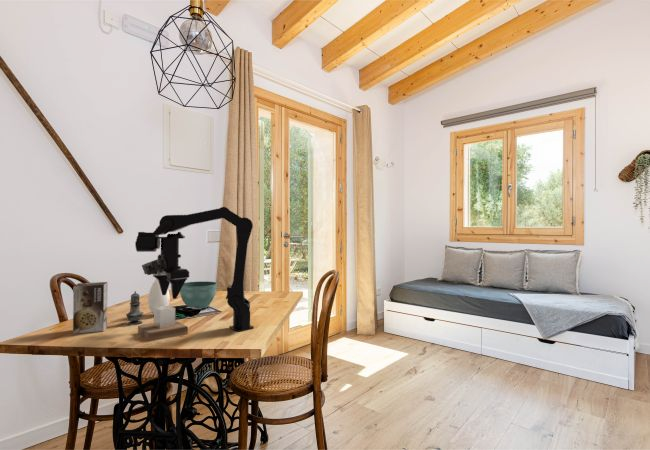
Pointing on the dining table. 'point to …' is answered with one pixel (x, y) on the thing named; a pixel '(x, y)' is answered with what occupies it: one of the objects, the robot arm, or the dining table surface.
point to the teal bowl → (198, 293)
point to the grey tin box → (164, 317)
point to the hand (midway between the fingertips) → (169, 296)
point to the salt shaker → (134, 311)
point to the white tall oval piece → (157, 297)
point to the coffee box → (89, 307)
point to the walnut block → (161, 331)
